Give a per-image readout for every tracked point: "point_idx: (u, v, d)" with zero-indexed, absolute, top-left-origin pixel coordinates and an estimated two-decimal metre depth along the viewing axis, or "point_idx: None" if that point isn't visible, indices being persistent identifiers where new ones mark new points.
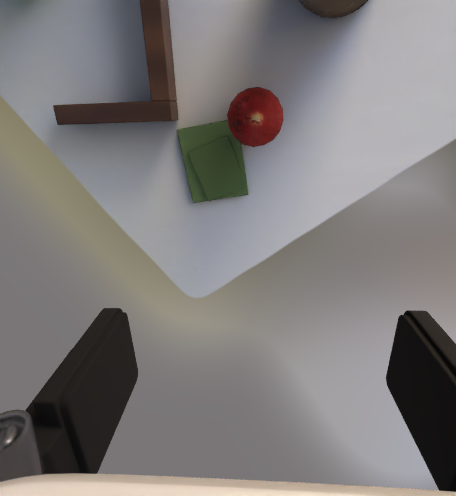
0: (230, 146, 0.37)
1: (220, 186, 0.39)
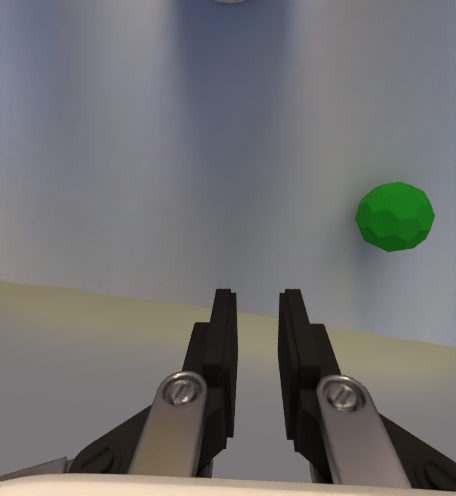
0: None
1: None
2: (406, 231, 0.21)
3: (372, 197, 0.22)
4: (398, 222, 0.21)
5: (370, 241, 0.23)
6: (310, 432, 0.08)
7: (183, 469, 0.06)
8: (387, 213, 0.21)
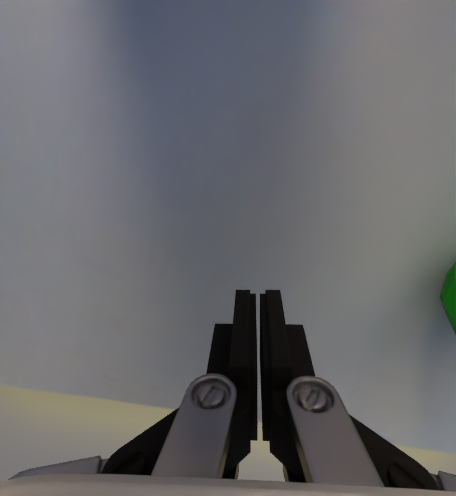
0: None
1: None
2: None
3: None
4: None
5: None
6: (281, 433, 0.08)
7: (208, 476, 0.06)
8: None
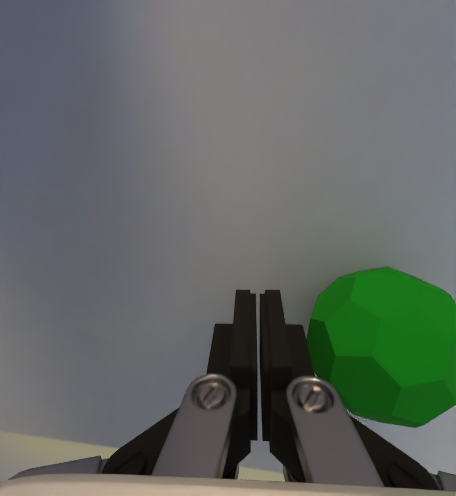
0: None
1: None
2: (419, 407, 0.09)
3: (334, 312, 0.10)
4: (398, 391, 0.08)
5: None
6: (280, 433, 0.08)
7: (208, 476, 0.06)
8: (371, 366, 0.09)
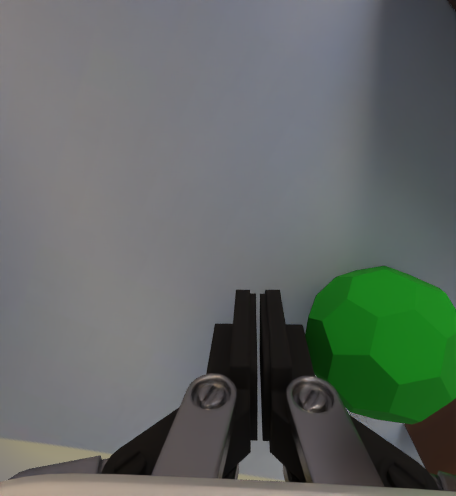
0: None
1: None
2: (416, 404, 0.09)
3: (332, 311, 0.10)
4: (395, 388, 0.08)
5: None
6: (281, 433, 0.08)
7: (207, 476, 0.06)
8: (368, 364, 0.09)
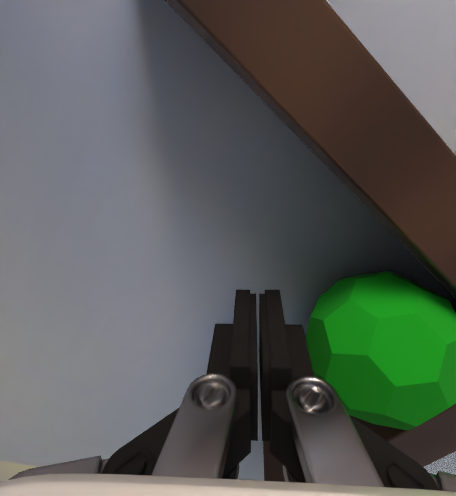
0: None
1: None
2: (412, 408, 0.09)
3: (333, 311, 0.10)
4: (391, 390, 0.08)
5: None
6: (280, 433, 0.08)
7: (208, 476, 0.06)
8: (366, 364, 0.09)
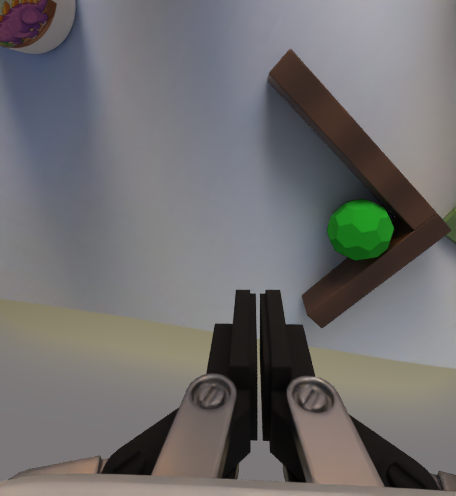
0: None
1: None
2: (368, 242, 0.24)
3: (339, 212, 0.25)
4: (360, 234, 0.24)
5: (339, 251, 0.26)
6: (281, 433, 0.08)
7: (207, 476, 0.06)
8: (351, 227, 0.24)
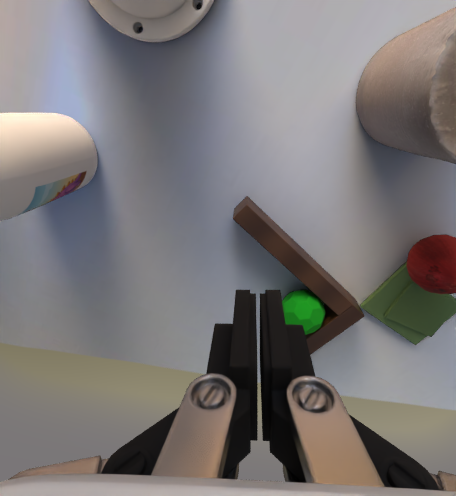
0: (420, 287, 0.35)
1: (434, 319, 0.37)
2: (304, 326, 0.34)
3: (286, 301, 0.35)
4: (298, 320, 0.34)
5: None
6: (281, 433, 0.08)
7: (207, 476, 0.06)
8: (293, 314, 0.34)
